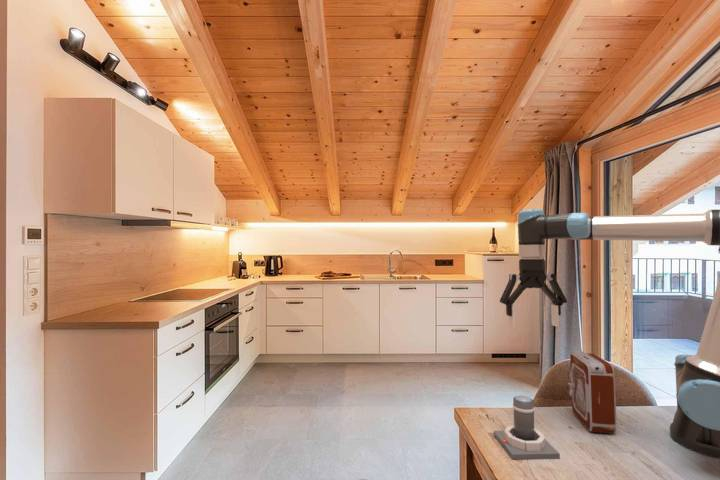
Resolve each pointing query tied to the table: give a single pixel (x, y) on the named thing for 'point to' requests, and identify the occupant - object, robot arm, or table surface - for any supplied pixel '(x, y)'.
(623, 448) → the table surface
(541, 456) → the mount plate
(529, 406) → the lens
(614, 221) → the robot arm
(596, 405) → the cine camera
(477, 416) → the table surface
